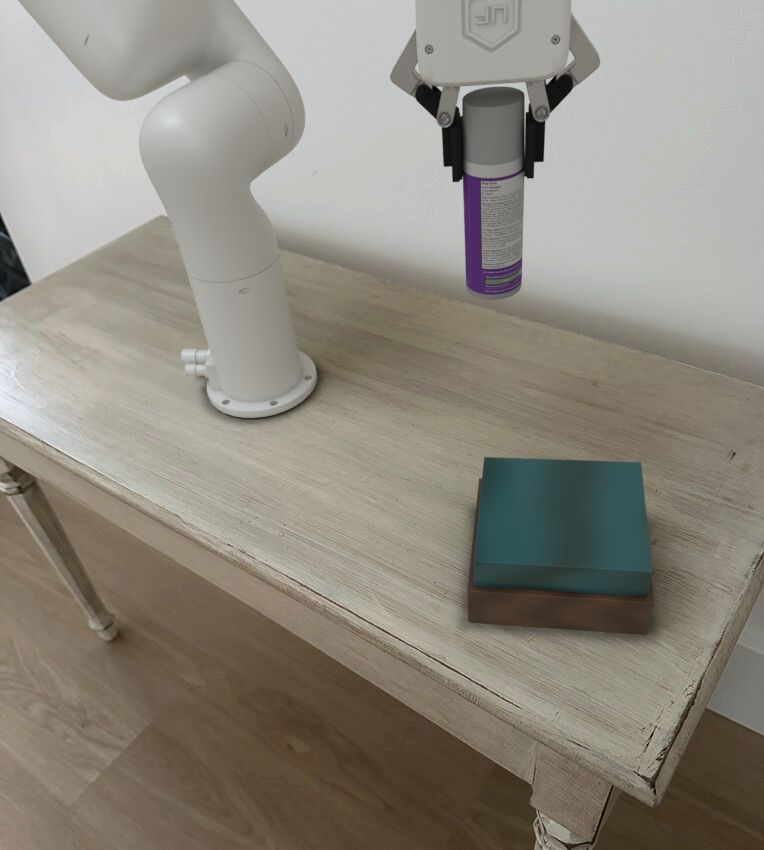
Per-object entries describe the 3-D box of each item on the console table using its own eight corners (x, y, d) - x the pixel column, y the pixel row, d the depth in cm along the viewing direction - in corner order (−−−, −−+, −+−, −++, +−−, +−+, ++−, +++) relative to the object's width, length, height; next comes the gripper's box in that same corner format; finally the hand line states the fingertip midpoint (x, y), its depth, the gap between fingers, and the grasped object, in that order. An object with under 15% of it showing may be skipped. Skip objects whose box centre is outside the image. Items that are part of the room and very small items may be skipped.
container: (461, 276, 69) (455, 91, 58) (514, 269, 69) (517, 82, 58) (471, 304, 66) (467, 112, 55) (527, 295, 66) (533, 102, 55)
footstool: (468, 622, 65) (466, 566, 60) (479, 509, 73) (478, 452, 69) (646, 634, 62) (660, 577, 57) (635, 516, 71) (647, 458, 66)
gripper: (344, -105, 47) (377, 199, 59) (644, -138, 44) (611, 189, 56) (363, -124, 52) (390, 159, 64) (632, -155, 49) (604, 148, 62)
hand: (493, 170), depth 60 cm, fingers closed on container, 4 cm apart
